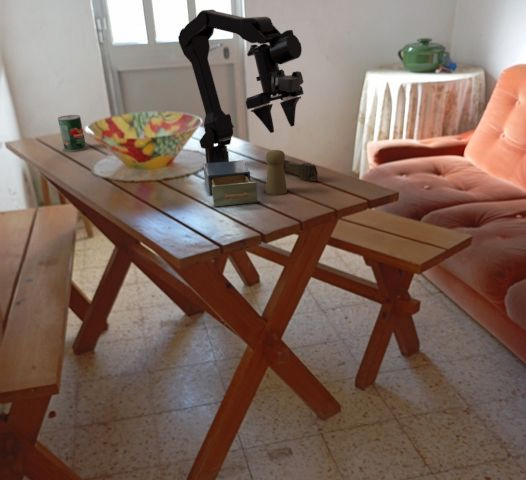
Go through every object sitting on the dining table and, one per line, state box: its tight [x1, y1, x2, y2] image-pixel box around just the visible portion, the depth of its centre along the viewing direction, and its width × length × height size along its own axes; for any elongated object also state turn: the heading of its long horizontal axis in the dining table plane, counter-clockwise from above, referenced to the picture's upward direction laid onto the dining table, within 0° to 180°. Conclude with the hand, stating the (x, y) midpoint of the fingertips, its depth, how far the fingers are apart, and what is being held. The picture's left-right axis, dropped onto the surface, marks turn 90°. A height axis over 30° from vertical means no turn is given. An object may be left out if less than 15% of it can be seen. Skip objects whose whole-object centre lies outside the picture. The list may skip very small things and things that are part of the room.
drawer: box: [211, 174, 258, 207], centre depth 149 cm, size 16×12×5 cm
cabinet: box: [202, 159, 251, 197], centre depth 159 cm, size 13×12×6 cm
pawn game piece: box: [265, 149, 288, 196], centre depth 152 cm, size 6×6×11 cm
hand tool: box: [283, 159, 319, 182], centre depth 165 cm, size 19×4×5 cm, turn 36°
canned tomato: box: [57, 114, 87, 152], centre depth 203 cm, size 8×8×11 cm
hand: (282, 129), depth 157 cm, fingers open, 9 cm apart
